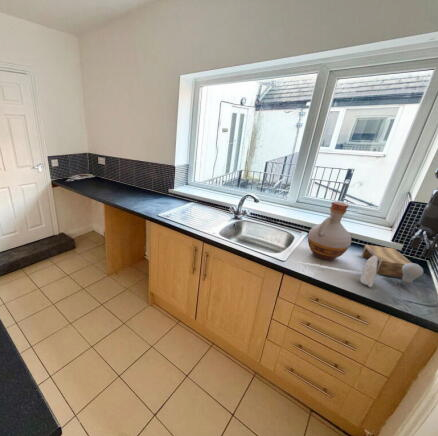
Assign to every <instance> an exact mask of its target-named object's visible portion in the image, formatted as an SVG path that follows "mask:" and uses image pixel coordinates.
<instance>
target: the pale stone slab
mask: <svg viewBox="0 0 438 436" xmlns="http://www.w3.org/2000/svg"><path fill="white" fill-rule="evenodd" d="M378 263H379V261H378V259H377V257H375V256H372V257H371V258H367V260H366V262H365V263H364V265H363V267H362V268H361V272H362V274H361V276H360V279H359V280H360V282H361V283H362V284H363V285H367V286H368V287H369V288H372V287H373V283H374V282H375V279H376V277H377V273H376V270H377V267H378Z"/></svg>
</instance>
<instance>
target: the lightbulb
mask: <svg viewBox="0 0 438 436" xmlns="http://www.w3.org/2000/svg"><path fill="white" fill-rule="evenodd" d="M402 272H403V278H401V279H402V280H401V285H402V286H404V287H409V286H410V285H411V284H412V283H413V282H414V281H415V280H416V279H418V278H420V277H421V276H422V275H423V274H424V269H423V267H422V266H421V265H419V264H418V263H414V262H412V263H407V264H405V265H404V266H403V267H402Z"/></svg>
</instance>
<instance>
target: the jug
mask: <svg viewBox="0 0 438 436" xmlns="http://www.w3.org/2000/svg"><path fill="white" fill-rule="evenodd" d="M349 206H350V205H349V204H348V203H345V202H341V201H331V207H329V211H330V215H329V216H328V217H326V218H325V219H324V220H323V221H322V222H321V223H319V224H316V225H314V226H312V228H311V229H309V231H308V233H307V234H308V235H307V243H308V247H309V249H310V251H311V252H312V254H313V256H314V257H316V258H317V259H320V260H323V261H332V260H335V259H336V258H337V259H338V258H339V257H341V256H343V255H344V254H345V253H346V252H347V251H348V249H349V248H350V246H351V244H352V236H351V235H350V234H351V233H349V232H348V230H347V229H346V228H345V227H344V225H343V224H342V223H341V222H342V218H343V217H344V215H345V214H346V213H347V211H348V210H347V209H348V208H349Z"/></svg>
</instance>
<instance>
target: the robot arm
mask: <svg viewBox="0 0 438 436" xmlns="http://www.w3.org/2000/svg"><path fill="white" fill-rule="evenodd" d="M434 176H435V178H436V179H437V180H438V167H437V169H436V170H435V172H434ZM409 236H410V237H411V239H412V241H411V243H410V245H409V247H410V249H415V250H417V249H418V248H419V246H420V244H421V241H422V240H423V241H424V243H425V244H426V245H425V246H426V247H425V249H424V251H423V253H422V257H423V258H427V259H431V258H432V256H433V255H434V252H435V251H438V188H435V189H434V190H433V191H432V193H431V195H430V197H429V200H428V202H427V204H426V205H425V206H424V209H423V211H422V213H421V216H420V218H419V220H418V222H417V223H415V224H414V226H413V228H412V230H411V232H410V234H409Z"/></svg>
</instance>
